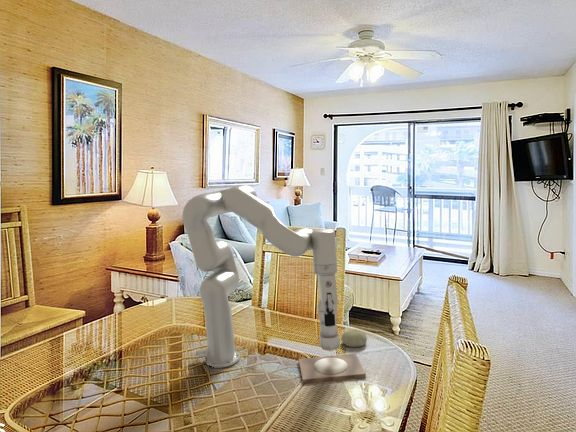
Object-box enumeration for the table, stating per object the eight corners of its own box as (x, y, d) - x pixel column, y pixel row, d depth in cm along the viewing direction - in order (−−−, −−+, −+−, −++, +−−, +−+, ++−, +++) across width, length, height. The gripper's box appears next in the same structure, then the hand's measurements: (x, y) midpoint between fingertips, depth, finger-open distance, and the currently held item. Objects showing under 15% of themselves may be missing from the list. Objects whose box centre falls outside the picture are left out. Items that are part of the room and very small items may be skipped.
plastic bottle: (341, 352, 135) (338, 292, 132) (320, 354, 135) (316, 294, 132) (339, 344, 141) (336, 286, 138) (319, 345, 141) (315, 287, 139)
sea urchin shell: (369, 344, 151) (352, 329, 152) (354, 358, 153) (338, 343, 154) (369, 333, 160) (353, 319, 161) (355, 347, 162) (339, 333, 162)
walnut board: (303, 383, 131) (302, 379, 131) (298, 362, 145) (298, 358, 145) (365, 377, 132) (365, 373, 132) (355, 356, 146) (355, 353, 146)
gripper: (342, 274, 126) (344, 331, 128) (332, 260, 143) (334, 311, 145) (317, 276, 126) (320, 333, 128) (310, 262, 143) (313, 313, 145)
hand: (328, 321), depth 137 cm, fingers closed on plastic bottle, 6 cm apart
